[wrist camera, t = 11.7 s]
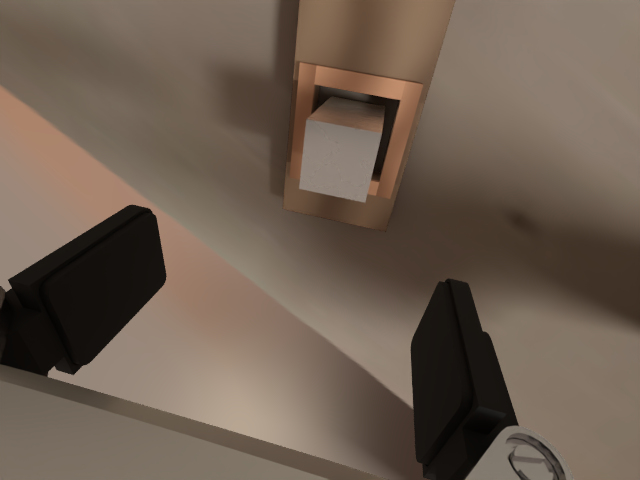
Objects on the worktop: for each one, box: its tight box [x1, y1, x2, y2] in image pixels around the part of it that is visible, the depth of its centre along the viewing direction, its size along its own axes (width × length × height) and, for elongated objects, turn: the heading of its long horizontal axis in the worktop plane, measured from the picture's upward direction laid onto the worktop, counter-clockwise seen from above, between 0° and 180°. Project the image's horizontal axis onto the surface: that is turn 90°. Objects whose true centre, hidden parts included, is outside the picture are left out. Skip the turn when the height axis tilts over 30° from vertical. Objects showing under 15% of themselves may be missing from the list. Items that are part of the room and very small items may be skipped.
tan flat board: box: [283, 0, 455, 232], centre depth 22 cm, size 10×30×2 cm, turn 172°
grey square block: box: [299, 96, 385, 203], centre depth 23 cm, size 4×4×9 cm
